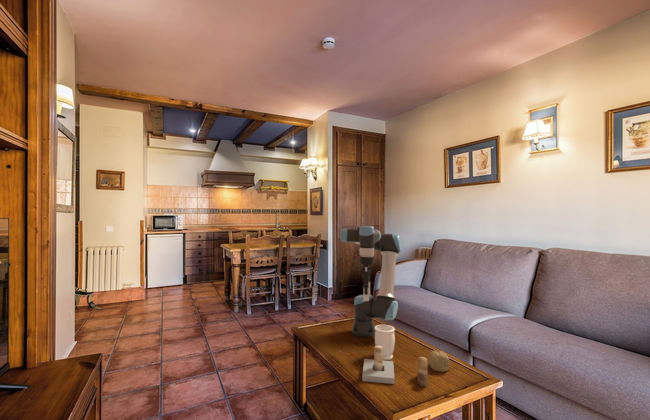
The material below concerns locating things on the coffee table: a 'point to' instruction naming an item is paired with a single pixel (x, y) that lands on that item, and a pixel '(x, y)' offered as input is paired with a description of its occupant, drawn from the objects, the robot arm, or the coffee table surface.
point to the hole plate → (378, 372)
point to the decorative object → (439, 361)
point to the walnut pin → (422, 378)
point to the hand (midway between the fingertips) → (366, 297)
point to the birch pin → (378, 358)
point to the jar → (385, 340)
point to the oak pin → (422, 364)
